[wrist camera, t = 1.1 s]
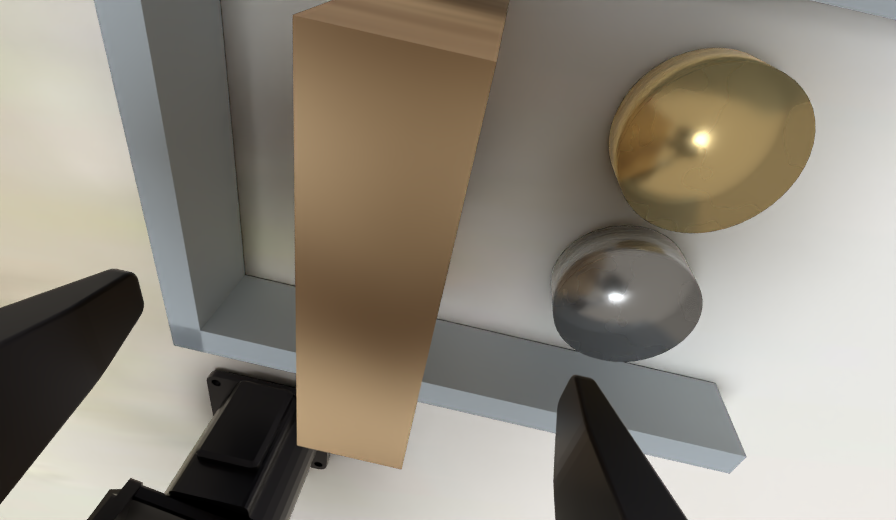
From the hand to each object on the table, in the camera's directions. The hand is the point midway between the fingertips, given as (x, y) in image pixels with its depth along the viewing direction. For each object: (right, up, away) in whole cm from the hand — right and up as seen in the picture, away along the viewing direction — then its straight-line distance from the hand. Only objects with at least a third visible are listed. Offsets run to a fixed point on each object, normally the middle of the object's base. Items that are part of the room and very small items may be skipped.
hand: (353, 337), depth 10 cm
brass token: (+10, +6, +5) cm, 12 cm away
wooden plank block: (+1, +5, +7) cm, 9 cm away
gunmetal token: (+8, +1, +9) cm, 12 cm away
